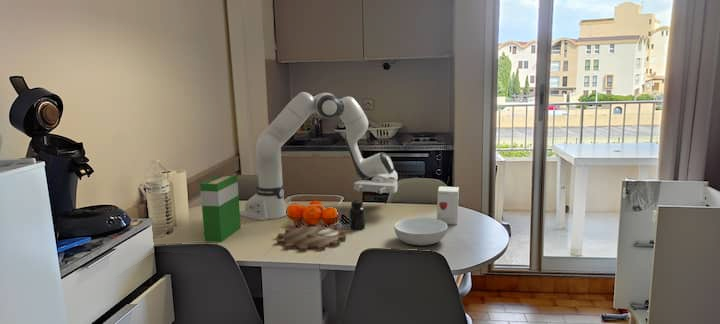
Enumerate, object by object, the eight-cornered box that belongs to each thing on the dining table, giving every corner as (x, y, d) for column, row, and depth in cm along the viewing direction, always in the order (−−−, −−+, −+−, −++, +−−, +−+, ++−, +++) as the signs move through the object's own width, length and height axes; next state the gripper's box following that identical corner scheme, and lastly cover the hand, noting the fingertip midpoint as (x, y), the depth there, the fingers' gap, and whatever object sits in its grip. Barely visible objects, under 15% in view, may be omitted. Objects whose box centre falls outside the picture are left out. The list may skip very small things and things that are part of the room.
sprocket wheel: (263, 246, 193) (263, 242, 192) (299, 225, 218) (299, 221, 217) (326, 255, 182) (326, 251, 181) (356, 232, 207) (356, 228, 206)
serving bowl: (412, 229, 209) (412, 214, 208) (456, 239, 196) (457, 223, 195) (383, 243, 194) (383, 226, 192) (429, 255, 181) (429, 237, 179)
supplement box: (436, 223, 216) (436, 190, 213) (438, 217, 225) (438, 185, 222) (457, 224, 214) (458, 191, 211) (458, 218, 223) (459, 186, 220)
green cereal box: (225, 227, 217) (221, 174, 212) (240, 228, 215) (237, 174, 211) (204, 241, 200) (200, 183, 195) (221, 242, 198) (217, 184, 194)
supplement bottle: (346, 229, 211) (345, 202, 208) (354, 224, 217) (353, 198, 214) (360, 231, 208) (360, 204, 205) (368, 227, 213) (367, 200, 211)
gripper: (360, 176, 238) (348, 182, 225) (400, 178, 230) (390, 185, 217) (360, 188, 239) (348, 195, 227) (400, 191, 231) (390, 199, 218)
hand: (369, 190), depth 222 cm, fingers open, 8 cm apart
